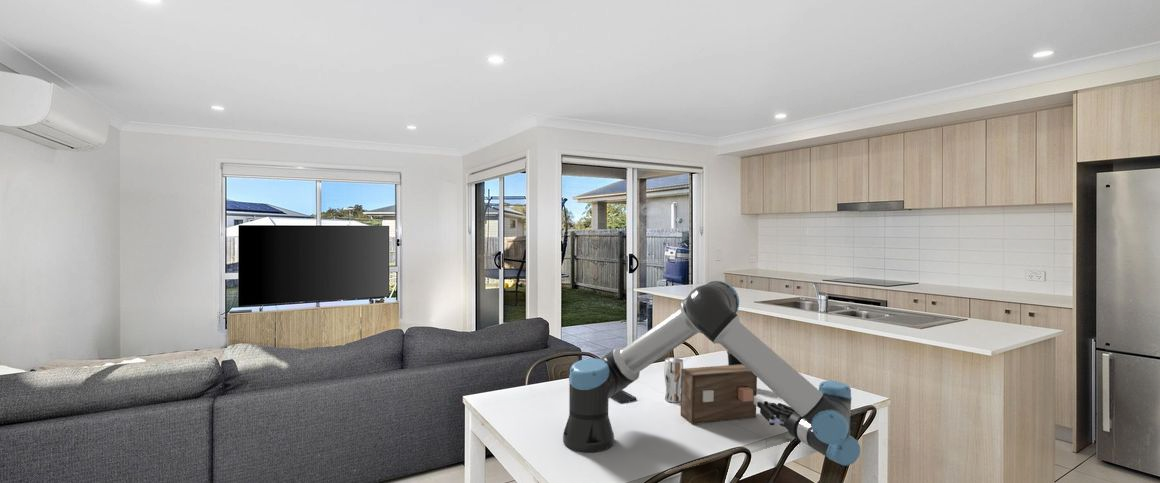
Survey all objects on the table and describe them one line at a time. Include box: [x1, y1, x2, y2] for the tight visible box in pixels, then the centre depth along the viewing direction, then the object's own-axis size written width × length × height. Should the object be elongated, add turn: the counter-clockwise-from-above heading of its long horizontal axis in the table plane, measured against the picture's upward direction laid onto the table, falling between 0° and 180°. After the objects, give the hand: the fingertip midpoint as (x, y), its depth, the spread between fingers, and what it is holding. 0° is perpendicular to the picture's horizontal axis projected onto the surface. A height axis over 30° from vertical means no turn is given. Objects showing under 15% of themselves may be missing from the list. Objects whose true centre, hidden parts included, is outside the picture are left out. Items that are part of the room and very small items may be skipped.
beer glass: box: [663, 357, 684, 404], centre depth 188 cm, size 7×7×15 cm
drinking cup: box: [726, 350, 742, 365], centre depth 205 cm, size 8×8×20 cm
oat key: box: [702, 389, 714, 402], centre depth 169 cm, size 6×4×4 cm, turn 16°
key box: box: [680, 364, 758, 425], centre depth 173 cm, size 8×24×16 cm, turn 106°
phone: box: [609, 389, 637, 404], centre depth 193 cm, size 8×1×15 cm
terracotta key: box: [737, 386, 753, 402], centre depth 170 cm, size 6×4×4 cm, turn 16°
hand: (755, 399), depth 164 cm, fingers closed
